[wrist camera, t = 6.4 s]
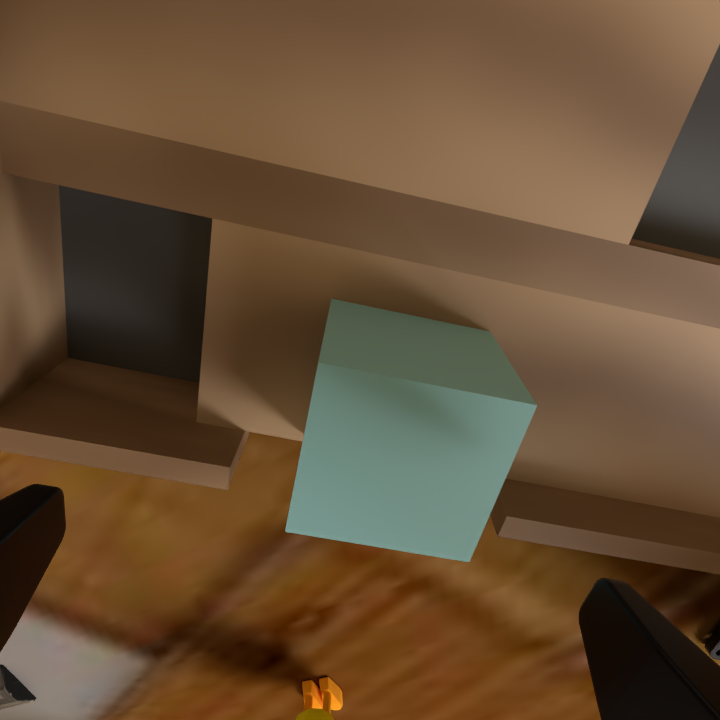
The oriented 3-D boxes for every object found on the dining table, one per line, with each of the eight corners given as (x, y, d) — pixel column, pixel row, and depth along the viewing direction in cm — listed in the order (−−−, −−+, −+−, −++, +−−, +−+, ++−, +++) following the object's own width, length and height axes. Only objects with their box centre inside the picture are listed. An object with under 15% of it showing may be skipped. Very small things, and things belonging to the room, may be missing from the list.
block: (444, 459, 15) (469, 562, 12) (304, 434, 15) (284, 531, 11) (490, 331, 13) (537, 405, 10) (331, 298, 13) (318, 362, 9)
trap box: (702, 493, 19) (791, 586, 15) (48, 371, 17) (-48, 442, 13) (1013, 27, 12) (1317, -24, 8) (2, -265, 10) (-223, -513, 6)
